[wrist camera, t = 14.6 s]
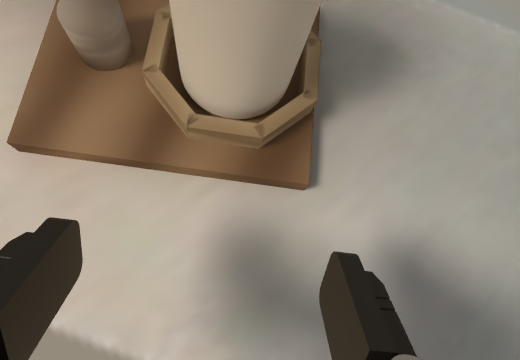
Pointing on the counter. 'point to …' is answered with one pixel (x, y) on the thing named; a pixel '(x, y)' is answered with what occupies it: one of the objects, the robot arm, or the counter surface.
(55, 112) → the board
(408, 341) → the robot arm
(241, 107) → the can
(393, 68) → the counter surface
